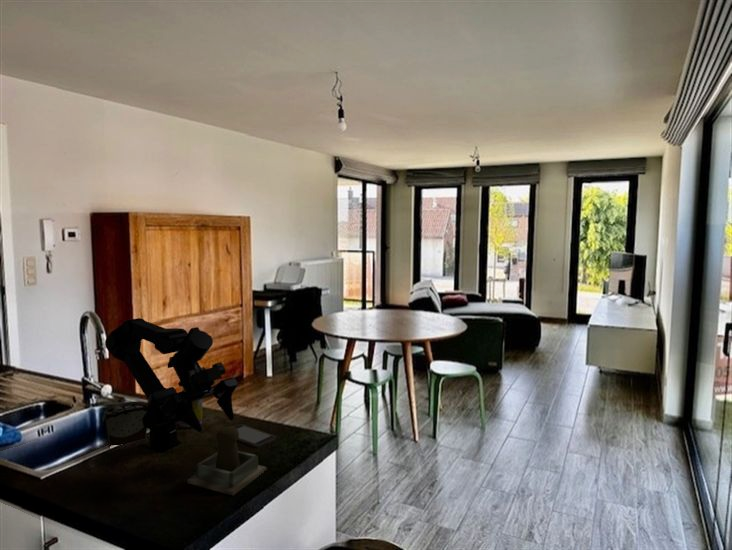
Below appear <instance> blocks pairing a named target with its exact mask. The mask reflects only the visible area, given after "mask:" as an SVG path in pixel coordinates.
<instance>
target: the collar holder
mask: <svg viewBox="0 0 732 550" xmlns="http://www.w3.org/2000/svg"><path fill="white" fill-rule="evenodd" d="M217 453H218V451H216V452H215V453H213V454H212V455H210V456H208V457H206V458H204V459H203V460H201V461H200V462H198V463H197V464H196V474H194V475H192V476H191V477H190V478H188V479H187V484H188V485H194V486H197V487H200V488H204V489H208V490H212V491H214V492H219V493H222V494H226V495H229V496H235V495H236V494H237V493H239V492H240V491H241V490H243V489H244V488H245V487H247V486H248V485H249V484H250V483H252V482H253V481H254V480H255V479H257V478H258V477H260V476H261V475H262V474H264V473H265V472H266V471H267V469H268V468H267V466H264V465H259V456H258V455H257V454H254V453H249V452H246V451H241V450H238V455H239V462H240V466H239V467H238V468H236V469H235V470H233V471H232V472H230V471H226V470H222V469H218V468H216V461H217ZM265 470H266V471H265ZM264 471H265V472H264ZM261 473H262V474H261ZM259 475H260V476H259Z"/></svg>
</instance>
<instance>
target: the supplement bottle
mask: <svg viewBox="0 0 732 550" xmlns="http://www.w3.org/2000/svg"><path fill="white" fill-rule="evenodd" d="M181 387H182V390H181V391H180V392H182V391H184V392H186V391H185V389H184V387H183V386H181ZM192 409H193V411H194V413H195V415H196V417H197V419H198V420H199V422H200V425H201V424H202V423H203V399H200V400H197V401H194V402H192ZM178 422H179V426H180V427H182V428H192V427H191V426H190V425H188V424H187V423H185V422H183V421H182V420H181V421H178Z"/></svg>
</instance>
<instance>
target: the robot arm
mask: <svg viewBox="0 0 732 550" xmlns="http://www.w3.org/2000/svg"><path fill="white" fill-rule="evenodd" d="M143 340H144V341H147V342H149V343H151V344H153V345H154V349H155V350H156V351H158V352H159V353H161V354H162V355H169V354H172V353H174V354H173V355H172V356H170V357H168V359H169V360H168V362H167V368H168V369H170V368H173V369H174V371H175V374H176V375H177V377H178V381H179V382H178V383H177V384H178V386H179V387H180V388H181V387H182V386H183V387H184V389H185V391H186V392H184V391H182V390H181V391H182V392H181V391H179V392H177V389H176V388H175V387H174V386H171V387H165V386H164V385H163V384H162V382H161V381H160V379H159V378H158V376H157V373H155V371H154V370H153V368H152V367H151V365H150V364H149V362H148V361H147V359H146V358H145V356H144V354H143V353H142V352H141V348H142V347H141V345H142V341H143ZM213 340H214V339H213V338H212V336H211V335H210V334H209V333H207V332H206V331H204V330H201V329H200V327H198V326H196V327H191V328H190V329H189V330H188V331H187V330H186V329H184V328H179V327H178V328H177V327H176V328H175V327H172V328H166V327H163V326H160V325H157V324H155V323H152V322H149V321H147V320H145V319H144V318H141V317H138V318H132V319H126V320H125V321H123V322H122V323H121V325H119V326H118V327H116V328H115V329H113V330H112V331H110V333H109V334H108V336H107V337H106V339H105V340H104V343H105V344H104V346H105V348H106V350H107V351H108V352H109V353H110V355H111V356H112V357H113V358H115V359H117V360H119V361H121V362H123V363H124V364H125V366H126V368H127V369H128V371H129V372H130V374H131V375H132V376H133V379H134V380H135V382H136V383H137V385H138V386H139V388H140V389H141V391H142V392H143V394H144V395H145V397H146V399H147V402H146V403H147V413H146V414H145V415H144V417H143V418H142V421H143V426H144V427H146V428H147V429H149V443H148V444H146V445H145V446H144V448H145V449H149V450H151V451H156V452H161V453H164V452H166V451H168V450H171V449H172V448H174V447H176V446H178V445H180V444H181V441H180V440H178V437H177V436H178V431H177V422H179V421H181V420H182V421H183V422H185V423H187V424H188V425H190V426H191V427H190V428H192V429H194V430H195V431H197V432H198V433H201V432H202V431H203V428H202V425H201V424H200V422H199V420H198V419H197V417H196V415H195V413H194V411H193V409H192V402H194V401H197V400H200V399H202V400H203V399H206V398H210V397H214V398H215V399H216V403H217V405H218V406H219V407H220V409H221V410H222V411H223V413H224V414H225V416H226V417H227V418H228V420H230V421H233V420H234V419H235V417H234V408H233V403H232V402H233V401H232V400H233V399H232V398H233V396H232V395H233V393H234V392H235V391H236V389H237V387H238V386H239V383H238V382H237V379H236V378H234V377H228V378H224V379H222V378H223V377H222V376H223V375H226V372H227V370H226V367H225V365H224V364H223V363H222V362H221V361H220V362H219V361H218V362H217V363H216V362H215V363H214V364H212V365H211V366H212V367H209V368H206V367H204V366H203V367H201V365H200V363H199V361H201V360H202V359H203V358H204V357H205V355H206V354H207V352H208V351H209V350H210V348H211V347H212V346H213V343H214V341H213ZM216 380H220V381H218V383H217V384H216V382H215V381H216ZM215 384H216V386H214V385H215ZM212 386H214V387H212ZM183 387H182V388H183Z"/></svg>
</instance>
